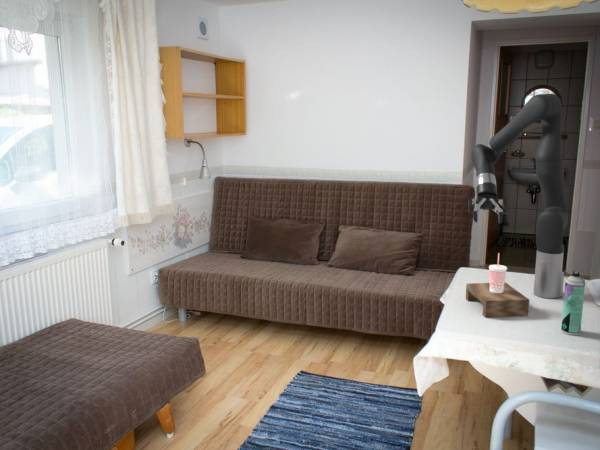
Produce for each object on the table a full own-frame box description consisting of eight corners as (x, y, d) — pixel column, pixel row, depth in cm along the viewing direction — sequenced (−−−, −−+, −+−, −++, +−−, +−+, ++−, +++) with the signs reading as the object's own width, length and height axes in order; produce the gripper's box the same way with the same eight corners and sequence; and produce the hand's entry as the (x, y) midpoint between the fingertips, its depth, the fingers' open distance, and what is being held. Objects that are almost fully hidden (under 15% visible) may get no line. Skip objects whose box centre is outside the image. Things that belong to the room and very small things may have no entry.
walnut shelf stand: (504, 297, 208) (505, 282, 207) (528, 316, 190) (529, 299, 188) (465, 298, 207) (466, 283, 206) (485, 317, 189) (486, 300, 188)
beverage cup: (508, 293, 194) (510, 255, 191) (490, 293, 194) (493, 255, 191) (501, 288, 200) (504, 250, 197) (484, 288, 200) (487, 251, 197)
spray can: (576, 328, 178) (581, 269, 174) (582, 335, 173) (589, 274, 169) (558, 328, 179) (563, 269, 175) (564, 335, 173) (570, 274, 169)
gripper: (468, 181, 215) (469, 215, 206) (507, 181, 212) (509, 217, 203) (466, 192, 221) (467, 226, 212) (503, 193, 218) (506, 227, 210)
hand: (488, 221), depth 208 cm, fingers open, 8 cm apart
